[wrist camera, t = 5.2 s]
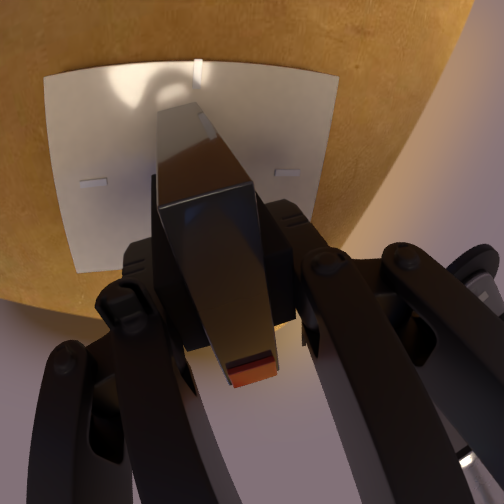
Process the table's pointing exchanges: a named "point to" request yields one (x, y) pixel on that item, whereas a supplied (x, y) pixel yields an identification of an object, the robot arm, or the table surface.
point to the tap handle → (216, 241)
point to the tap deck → (144, 139)
